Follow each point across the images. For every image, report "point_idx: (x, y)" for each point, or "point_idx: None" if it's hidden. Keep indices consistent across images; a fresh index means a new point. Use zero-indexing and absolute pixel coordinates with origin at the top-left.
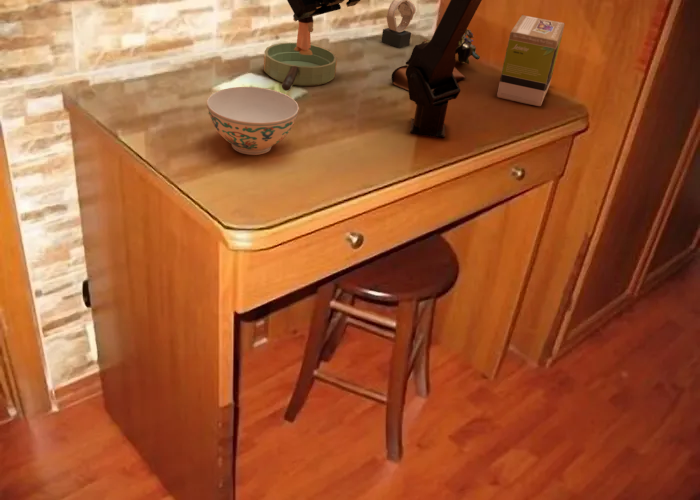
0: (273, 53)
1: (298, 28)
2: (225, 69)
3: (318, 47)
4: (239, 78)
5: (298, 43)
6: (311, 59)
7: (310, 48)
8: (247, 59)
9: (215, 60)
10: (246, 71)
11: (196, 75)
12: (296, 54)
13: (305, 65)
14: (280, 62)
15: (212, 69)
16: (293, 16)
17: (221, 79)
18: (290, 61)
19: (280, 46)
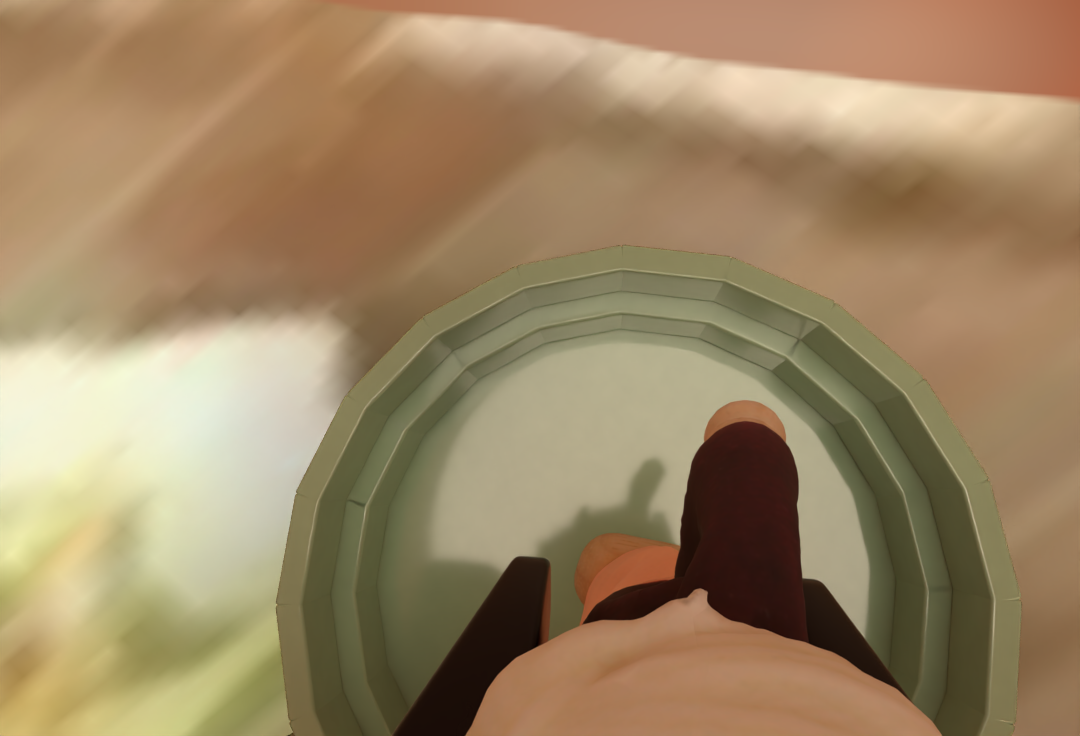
0: (608, 292)
1: (634, 580)
2: (261, 169)
3: (983, 578)
4: (197, 347)
5: (585, 611)
6: (892, 517)
7: (944, 484)
8: (545, 121)
9: (345, 8)
10: (343, 285)
11: (34, 135)
12: (819, 394)
13: None
14: (289, 615)
15: (195, 118)
16: (512, 568)
17: (93, 284)
18: (752, 380)
19: (702, 285)
